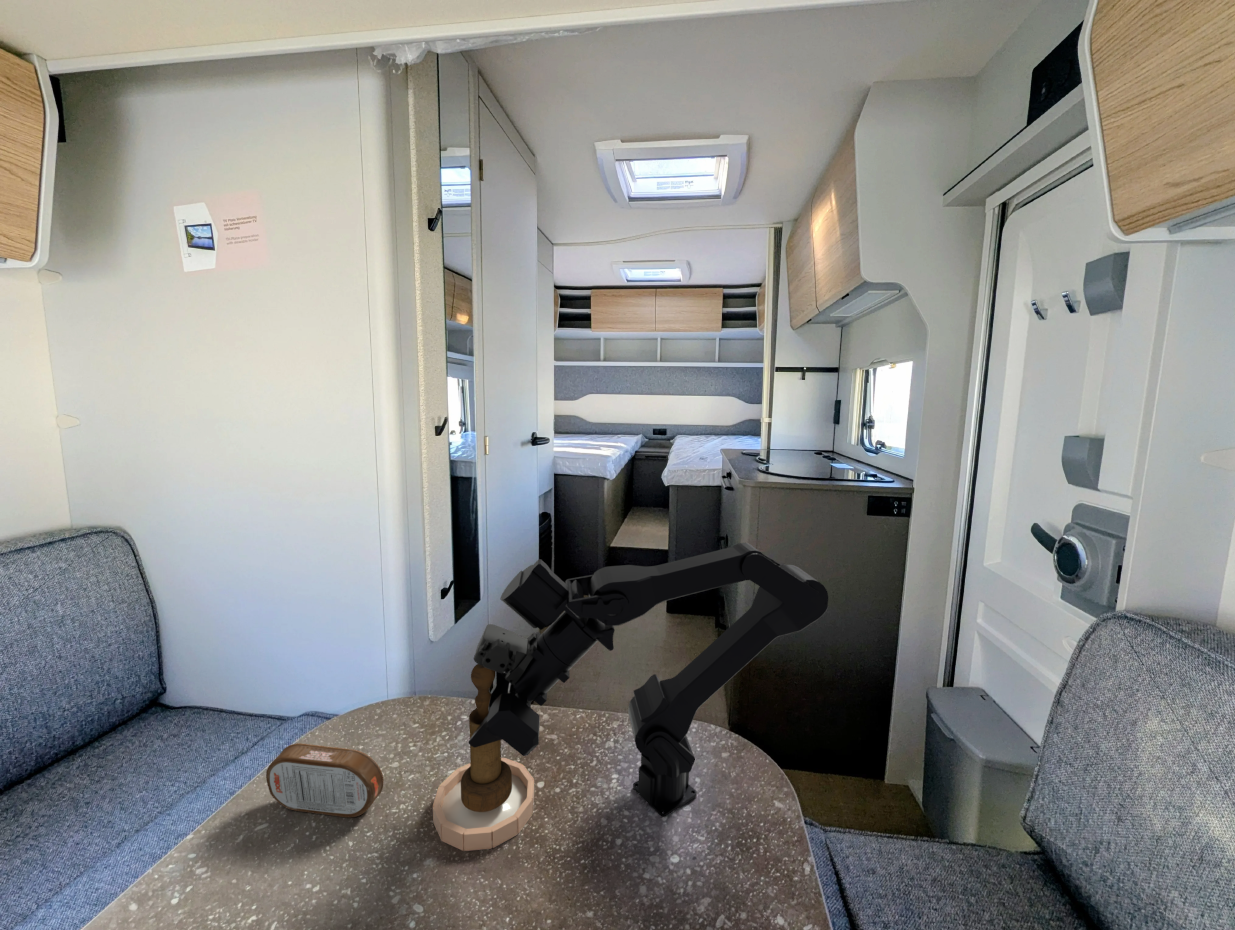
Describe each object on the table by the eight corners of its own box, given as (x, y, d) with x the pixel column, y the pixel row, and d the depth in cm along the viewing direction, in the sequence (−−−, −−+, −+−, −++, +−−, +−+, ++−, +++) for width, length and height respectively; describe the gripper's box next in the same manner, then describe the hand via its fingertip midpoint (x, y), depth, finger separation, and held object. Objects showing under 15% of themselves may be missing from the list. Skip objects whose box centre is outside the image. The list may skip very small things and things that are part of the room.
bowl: (509, 759, 75) (509, 746, 75) (550, 816, 65) (550, 801, 65) (422, 798, 68) (422, 784, 67) (454, 869, 58) (453, 852, 57)
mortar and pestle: (504, 814, 63) (500, 680, 60) (453, 811, 63) (447, 678, 60) (517, 774, 69) (514, 652, 67) (471, 772, 69) (466, 650, 67)
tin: (386, 805, 66) (383, 747, 65) (372, 825, 63) (368, 765, 62) (282, 793, 68) (278, 737, 67) (264, 812, 65) (258, 753, 64)
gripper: (518, 581, 72) (442, 657, 72) (505, 644, 54) (403, 746, 54) (573, 630, 74) (499, 704, 74) (579, 707, 56) (481, 805, 56)
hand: (473, 733), depth 65 cm, fingers closed on mortar and pestle, 4 cm apart
